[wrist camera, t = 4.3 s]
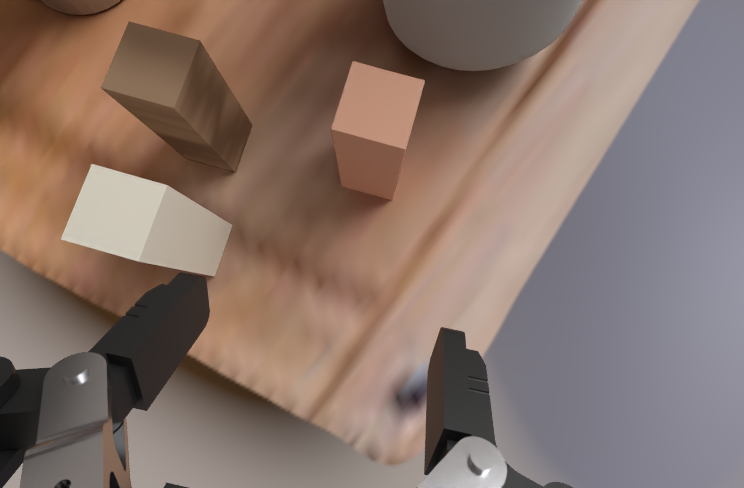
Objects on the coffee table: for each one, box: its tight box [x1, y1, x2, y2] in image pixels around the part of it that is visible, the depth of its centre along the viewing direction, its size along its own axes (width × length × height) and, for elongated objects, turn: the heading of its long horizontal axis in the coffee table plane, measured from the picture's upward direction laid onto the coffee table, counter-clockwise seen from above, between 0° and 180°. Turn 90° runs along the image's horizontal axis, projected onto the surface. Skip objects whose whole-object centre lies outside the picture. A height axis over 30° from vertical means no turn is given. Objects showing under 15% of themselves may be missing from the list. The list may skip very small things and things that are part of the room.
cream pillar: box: [61, 164, 233, 277], centre depth 25 cm, size 4×4×10 cm
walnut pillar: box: [101, 22, 252, 172], centre depth 26 cm, size 4×4×10 cm
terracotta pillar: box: [331, 61, 425, 200], centre depth 26 cm, size 4×4×10 cm
